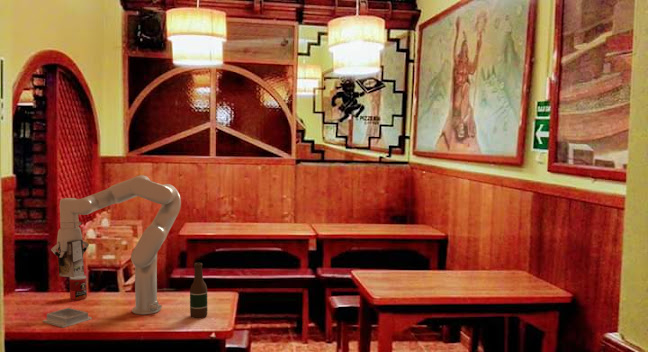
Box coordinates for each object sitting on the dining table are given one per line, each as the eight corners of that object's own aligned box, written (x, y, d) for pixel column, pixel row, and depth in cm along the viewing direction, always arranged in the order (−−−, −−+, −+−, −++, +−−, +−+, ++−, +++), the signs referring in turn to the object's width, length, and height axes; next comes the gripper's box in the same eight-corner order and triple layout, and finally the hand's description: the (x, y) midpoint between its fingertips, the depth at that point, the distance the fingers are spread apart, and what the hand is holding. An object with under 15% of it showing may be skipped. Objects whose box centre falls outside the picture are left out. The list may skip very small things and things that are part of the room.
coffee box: (84, 274, 263) (83, 239, 262) (73, 278, 257) (72, 242, 256) (69, 273, 267) (68, 238, 266) (58, 276, 261) (56, 240, 260)
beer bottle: (211, 314, 262) (210, 262, 261) (202, 319, 255) (201, 265, 253) (196, 312, 265) (195, 260, 263) (186, 317, 258) (185, 264, 256)
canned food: (76, 301, 282) (76, 279, 281) (66, 299, 286) (65, 277, 285) (90, 298, 288) (89, 276, 288) (80, 295, 293) (79, 274, 292)
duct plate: (91, 318, 255) (91, 311, 255) (63, 327, 244) (62, 320, 243) (71, 313, 263) (71, 306, 263) (42, 322, 251) (42, 314, 251)
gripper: (84, 222, 269) (85, 259, 271) (46, 227, 256) (47, 266, 258) (92, 224, 264) (93, 262, 266) (53, 228, 251) (55, 268, 253)
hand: (71, 264), depth 262 cm, fingers closed on coffee box, 8 cm apart
